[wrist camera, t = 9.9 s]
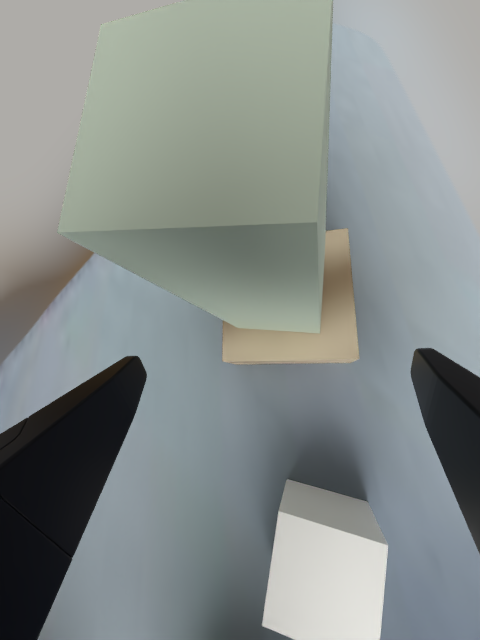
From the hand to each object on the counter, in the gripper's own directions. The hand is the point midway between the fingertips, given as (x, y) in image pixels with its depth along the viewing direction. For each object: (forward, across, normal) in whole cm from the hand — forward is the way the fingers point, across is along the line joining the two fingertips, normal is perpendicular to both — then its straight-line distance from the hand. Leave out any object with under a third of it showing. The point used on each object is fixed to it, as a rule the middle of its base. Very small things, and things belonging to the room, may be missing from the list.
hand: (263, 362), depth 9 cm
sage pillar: (+9, 0, +2) cm, 9 cm away
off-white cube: (+1, -2, +15) cm, 15 cm away
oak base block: (+12, 0, +5) cm, 13 cm away
